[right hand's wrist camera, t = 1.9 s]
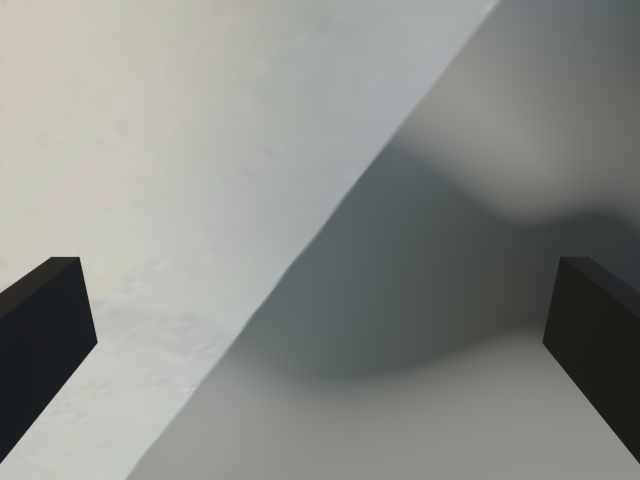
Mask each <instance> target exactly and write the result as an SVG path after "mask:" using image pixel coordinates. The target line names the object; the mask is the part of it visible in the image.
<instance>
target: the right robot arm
mask: <svg viewBox="0 0 640 480" xmlns="http://www.w3.org/2000/svg"><path fill="white" fill-rule="evenodd" d="M97 343H98V342H97V337H96V332H95V328H94V323H93V318H92V314H91V309H90V304H89V299H88V295H87V290H86V285H85V281H84V276H83V271H82V267H81V262H80V257H51V258H49V259H48V260H46V261H45V262H44V263H42V264H41V265H39V266H38V267H37V268H35V269H34V270H32V271H31V272H29V273H28V274H27V275H25V276H24V277H22V278H21V279H20V280H18V281H17V282H15V283H14V284H13V285H11V286H10V287H8V288H7V289H6V290H4V291H3V292H1V293H0V464H1V462H2V461H3V460H4V459H5V457H6V456H7V455H8V454H9V452H10V451H11V450H12V449H13V447H14V446H15V445H16V444H17V442H18V441H19V440H20V439H21V438H22V436H23V435H24V434H25V433H26V431H27V430H28V429H29V428H30V426H31V425H32V424H33V423H34V421H35V420H36V419H37V418H38V416H39V415H40V414H41V413H42V411H43V410H44V409H45V408H46V406H47V405H48V404H49V403H50V401H51V400H52V399H53V398H54V396H55V395H56V394H57V393H58V391H59V390H60V389H61V388H62V386H63V385H64V384H65V383H66V382H67V380H68V379H69V378H70V377H71V375H72V374H73V373H74V372H75V370H76V369H77V368H78V367H79V365H80V364H81V363H82V362H83V360H84V359H85V358H86V357H87V355H88V354H89V353H90V352H91V350H92V349H93V348H94V347H95V345H96V344H97ZM542 343H543V344H544V345H545V347H546V348H547V349H548V350H549V352H550V353H551V354H552V355H553V357H554V358H555V359H556V360H557V362H558V363H559V364H560V365H561V367H562V368H563V369H564V370H565V372H566V373H567V374H568V375H569V377H570V378H571V379H572V380H573V382H574V383H575V384H576V385H577V386H578V388H579V389H580V390H581V391H582V393H583V394H584V395H585V396H586V398H587V399H588V400H589V401H590V403H591V404H592V405H593V406H594V408H595V409H596V410H597V411H598V413H599V414H600V415H601V416H602V418H603V419H604V420H605V421H606V423H607V424H608V425H609V426H610V428H611V429H612V430H613V431H614V433H615V434H616V435H617V436H618V438H619V439H620V440H621V441H622V442H623V444H624V445H625V446H626V447H627V449H628V450H629V451H630V452H631V454H632V455H633V456H634V457H635V459H636V460H637V461H638V462H639V464H640V293H639V292H637V291H636V290H634V289H633V288H632V287H630V286H629V285H627V284H626V283H625V282H623V281H622V280H620V279H619V278H618V277H616V276H615V275H613V274H612V273H611V272H609V271H608V270H606V269H605V268H603V267H602V266H601V265H599V264H598V263H596V262H595V261H594V260H592V259H591V258H589V257H560V262H559V267H558V271H557V276H556V281H555V285H554V290H553V295H552V299H551V304H550V309H549V314H548V318H547V323H546V328H545V332H544V337H543V342H542Z"/></svg>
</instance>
